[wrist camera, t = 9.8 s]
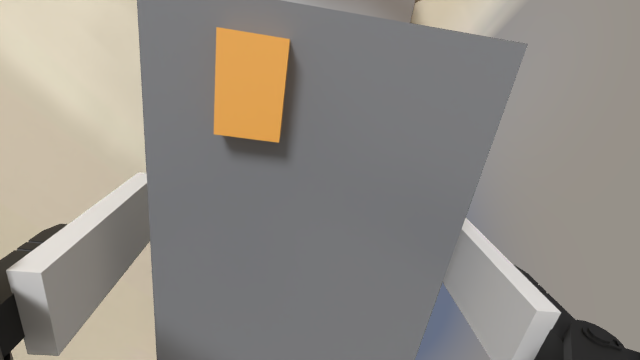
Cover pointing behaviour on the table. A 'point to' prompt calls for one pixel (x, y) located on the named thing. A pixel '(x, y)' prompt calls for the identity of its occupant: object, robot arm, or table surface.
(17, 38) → the table surface
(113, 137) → the table surface
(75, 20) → the table surface
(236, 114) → the grey box orange tab
